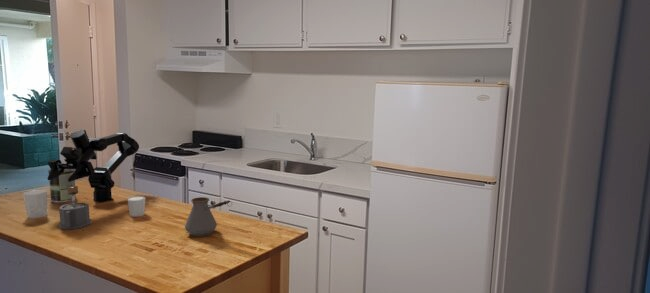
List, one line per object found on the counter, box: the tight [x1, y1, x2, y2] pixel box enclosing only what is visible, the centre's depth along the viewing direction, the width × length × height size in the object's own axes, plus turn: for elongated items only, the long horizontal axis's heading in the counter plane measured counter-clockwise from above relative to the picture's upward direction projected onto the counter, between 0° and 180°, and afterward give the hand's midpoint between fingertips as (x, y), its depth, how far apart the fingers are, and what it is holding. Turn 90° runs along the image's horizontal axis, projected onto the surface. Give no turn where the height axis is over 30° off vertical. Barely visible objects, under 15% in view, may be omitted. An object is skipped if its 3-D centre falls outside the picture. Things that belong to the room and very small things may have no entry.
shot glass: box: [127, 195, 146, 218], centre depth 184 cm, size 7×7×7 cm
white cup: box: [23, 189, 48, 219], centre depth 180 cm, size 8×8×10 cm
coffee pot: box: [184, 196, 233, 237], centre depth 160 cm, size 21×12×15 cm, turn 57°
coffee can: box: [47, 169, 77, 204], centre depth 203 cm, size 10×10×14 cm
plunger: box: [64, 185, 84, 209], centre depth 169 cm, size 7×7×8 cm
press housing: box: [58, 202, 92, 231], centre depth 169 cm, size 13×11×8 cm
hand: (58, 180), depth 176 cm, fingers open, 9 cm apart
